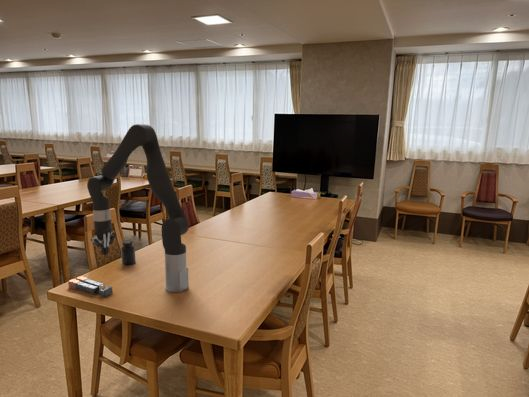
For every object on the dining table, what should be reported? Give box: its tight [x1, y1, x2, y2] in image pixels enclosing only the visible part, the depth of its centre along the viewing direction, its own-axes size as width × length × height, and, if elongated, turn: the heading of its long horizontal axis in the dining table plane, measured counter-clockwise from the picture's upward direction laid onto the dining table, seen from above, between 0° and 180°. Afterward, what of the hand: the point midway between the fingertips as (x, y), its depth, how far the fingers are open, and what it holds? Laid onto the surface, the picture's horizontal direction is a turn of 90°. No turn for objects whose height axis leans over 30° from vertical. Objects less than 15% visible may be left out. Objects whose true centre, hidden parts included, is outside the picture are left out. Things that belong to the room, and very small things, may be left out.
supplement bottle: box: [120, 239, 136, 266], centre depth 196 cm, size 7×7×12 cm
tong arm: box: [75, 275, 103, 293], centre depth 167 cm, size 16×3×3 cm, turn 62°
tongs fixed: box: [67, 278, 113, 298], centre depth 163 cm, size 21×5×4 cm, turn 63°
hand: (105, 254), depth 175 cm, fingers closed
